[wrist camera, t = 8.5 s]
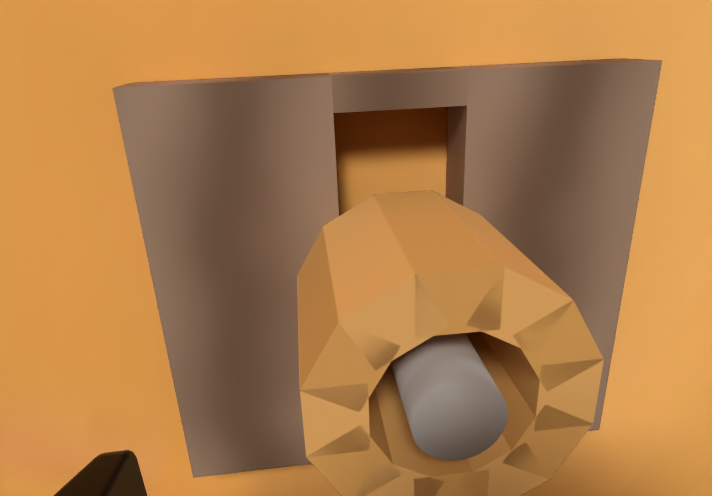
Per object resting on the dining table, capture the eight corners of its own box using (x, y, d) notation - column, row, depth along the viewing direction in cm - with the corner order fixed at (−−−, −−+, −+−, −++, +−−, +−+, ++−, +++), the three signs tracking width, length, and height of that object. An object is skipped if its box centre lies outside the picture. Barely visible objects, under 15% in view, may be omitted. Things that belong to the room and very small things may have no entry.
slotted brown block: (622, 58, 17) (892, 72, 10) (574, 398, 23) (723, 586, 15) (133, 82, 16) (-19, 122, 8) (201, 439, 21) (149, 673, 13)
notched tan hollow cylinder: (510, 184, 17) (621, 256, 11) (496, 369, 19) (580, 502, 14) (290, 200, 16) (289, 284, 10) (307, 388, 19) (313, 536, 13)
